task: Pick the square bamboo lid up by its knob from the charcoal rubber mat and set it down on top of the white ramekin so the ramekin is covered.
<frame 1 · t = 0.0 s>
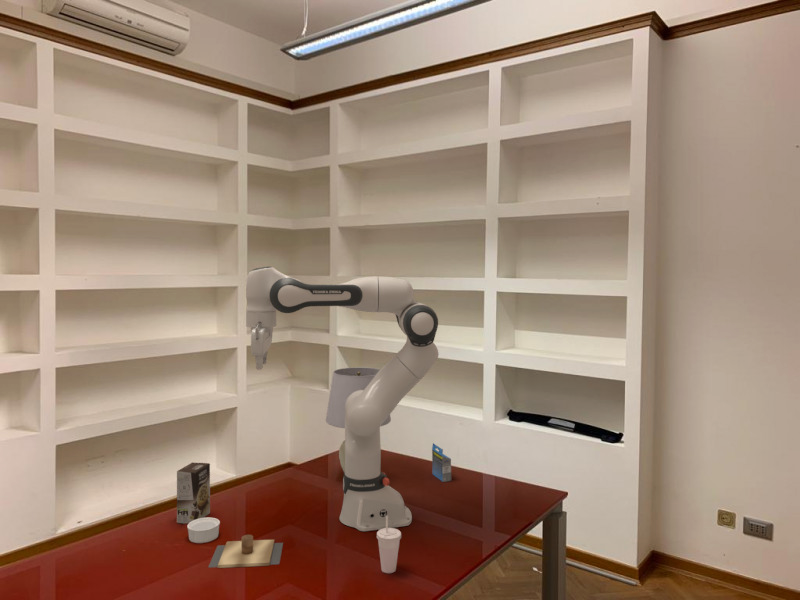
hand: (261, 366, 176), 48 cm above the table, fingers open, 8 cm apart
label tape box: (441, 478, 218), on the table
ramekin: (203, 538, 168), on the table
mat: (247, 555, 157), on the table
lamp: (358, 478, 216), on the table
smoothie: (388, 570, 151), on the table
lid: (247, 554, 157), resting on mat
coffee box: (194, 518, 181), on the table
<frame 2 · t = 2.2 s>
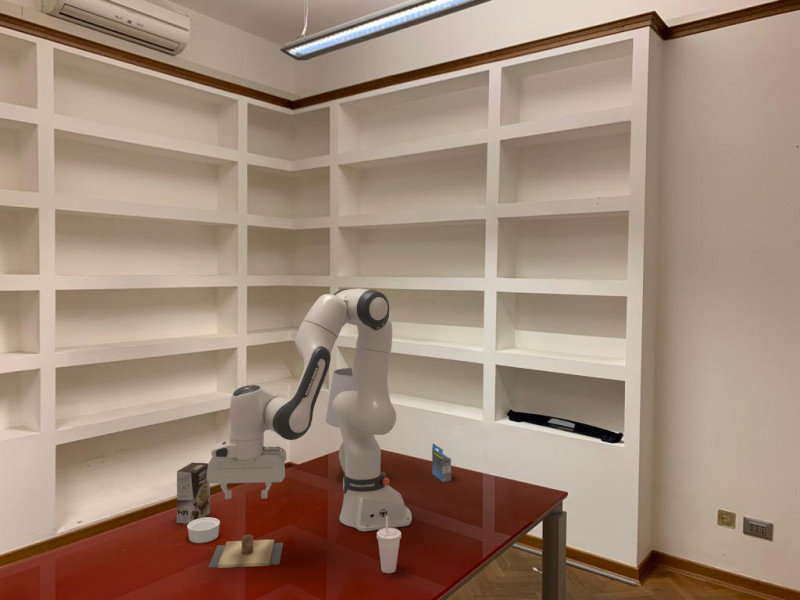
hand: (246, 498, 156), 16 cm above the table, fingers open, 8 cm apart
nothing on the table moved.
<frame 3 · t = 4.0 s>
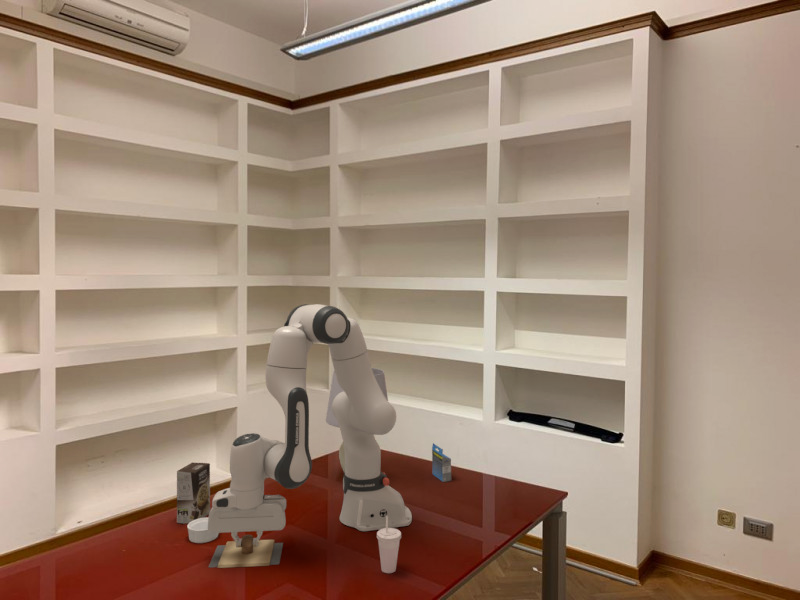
hand: (247, 546, 157), 3 cm above the table, fingers closed on lid, 3 cm apart
lid: (247, 554, 157), resting on mat, touching gripper
everything else where it was.
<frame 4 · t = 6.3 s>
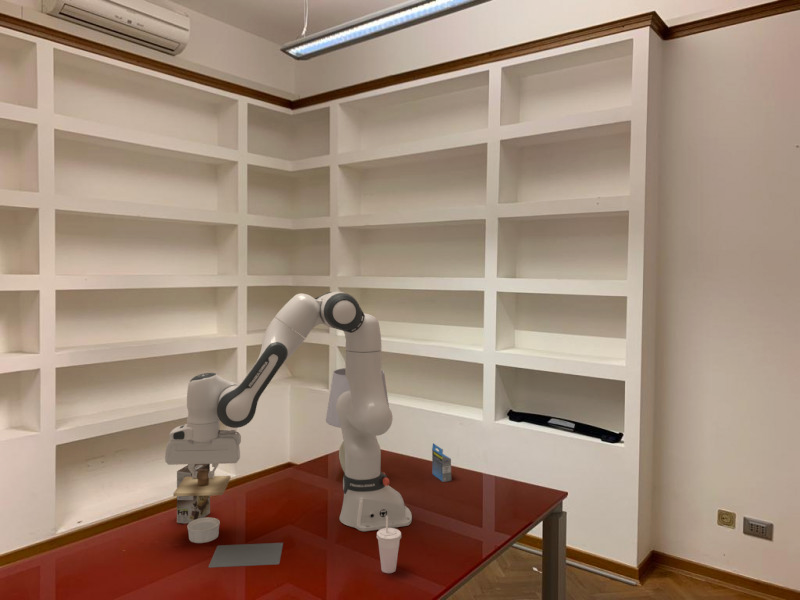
hand: (203, 478, 166), 17 cm above the table, fingers closed on lid, 3 cm apart
lid: (203, 486, 166), point 15 cm above the table, touching gripper
everything else where it was.
when the fingers open (7 cm above the table, at t = 8.5 s): lid stays where it is, resting on ramekin.
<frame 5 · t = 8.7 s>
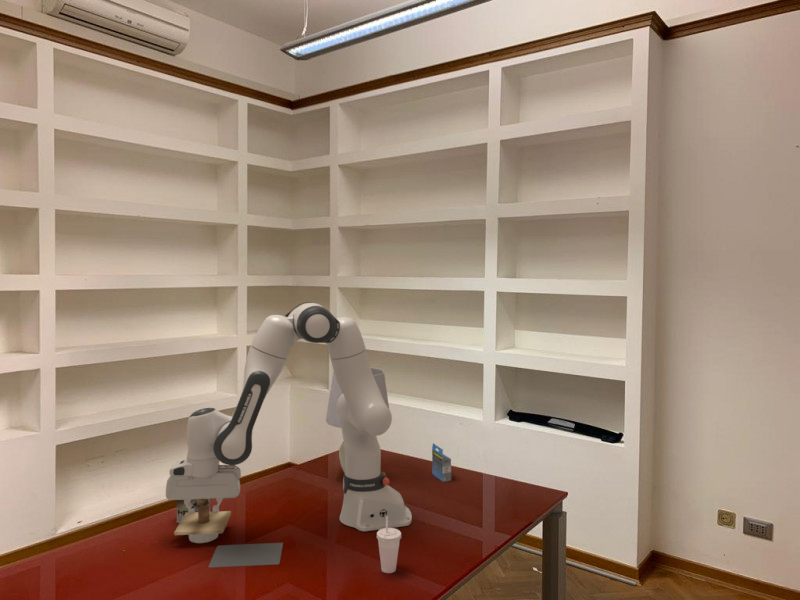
hand: (203, 512, 167), 7 cm above the table, fingers open, 5 cm apart
ramekin: (203, 539, 167), on the table, touching lid
lid: (203, 523, 167), point 4 cm above the table, touching ramekin
everything else where it was.
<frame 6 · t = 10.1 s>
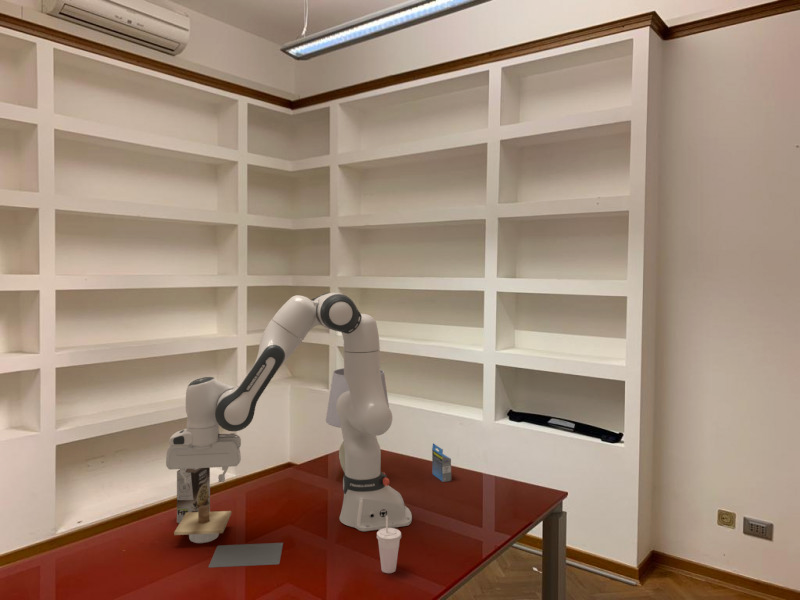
hand: (204, 482, 167), 16 cm above the table, fingers open, 8 cm apart
nothing on the table moved.
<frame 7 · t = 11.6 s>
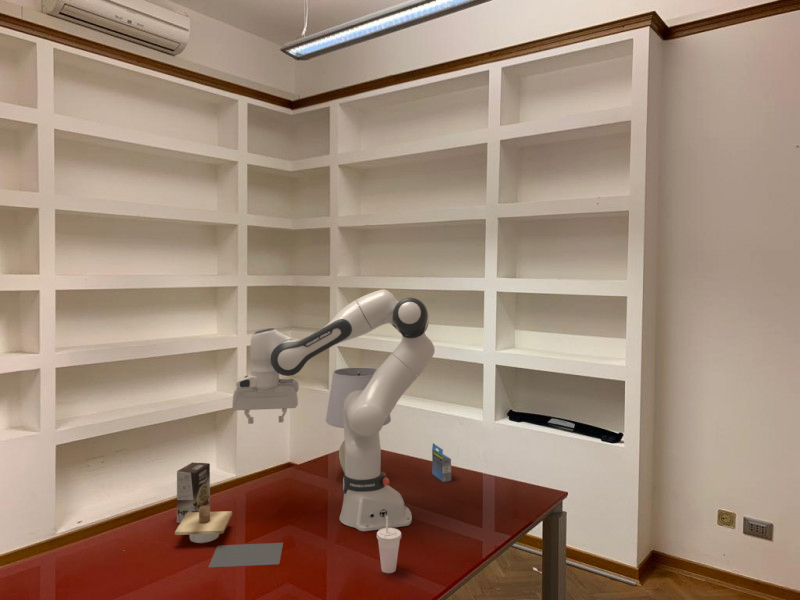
hand: (266, 422, 186), 28 cm above the table, fingers open, 8 cm apart
nothing on the table moved.
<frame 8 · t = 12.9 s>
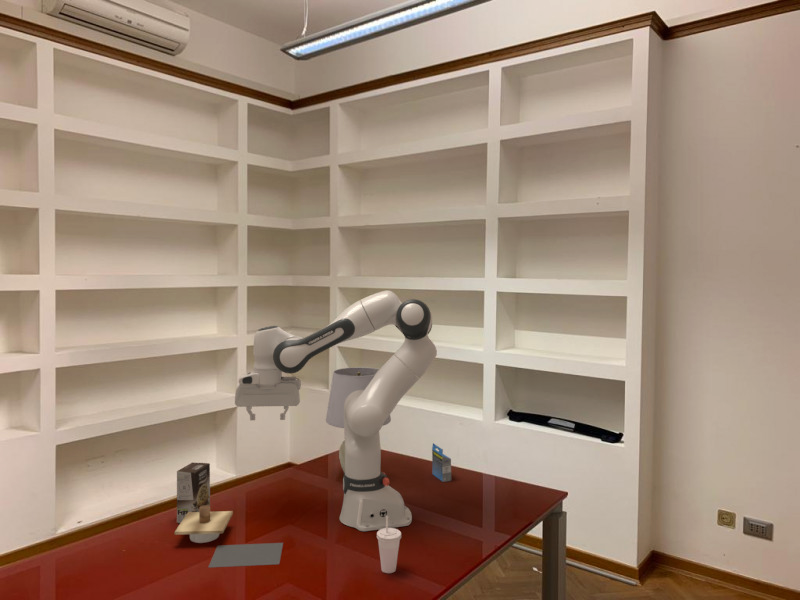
hand: (267, 419, 187), 29 cm above the table, fingers open, 8 cm apart
nothing on the table moved.
at the end: lid 0.2 cm off-centre on the ramekin, point 4.5 cm above the ramekin's base; lid tilted 0°; the gripper is holding nothing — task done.
